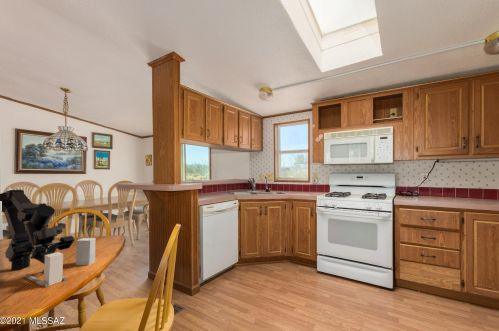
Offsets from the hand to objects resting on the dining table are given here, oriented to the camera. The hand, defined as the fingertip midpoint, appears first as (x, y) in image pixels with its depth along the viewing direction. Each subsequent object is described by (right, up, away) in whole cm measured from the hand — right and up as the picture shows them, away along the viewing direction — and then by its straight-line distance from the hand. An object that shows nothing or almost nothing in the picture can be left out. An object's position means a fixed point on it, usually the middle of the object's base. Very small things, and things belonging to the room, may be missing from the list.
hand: (50, 266), depth 87 cm
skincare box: (+1, -7, +17) cm, 19 cm away
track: (-3, -7, +1) cm, 8 cm away
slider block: (+2, -5, -1) cm, 6 cm away
